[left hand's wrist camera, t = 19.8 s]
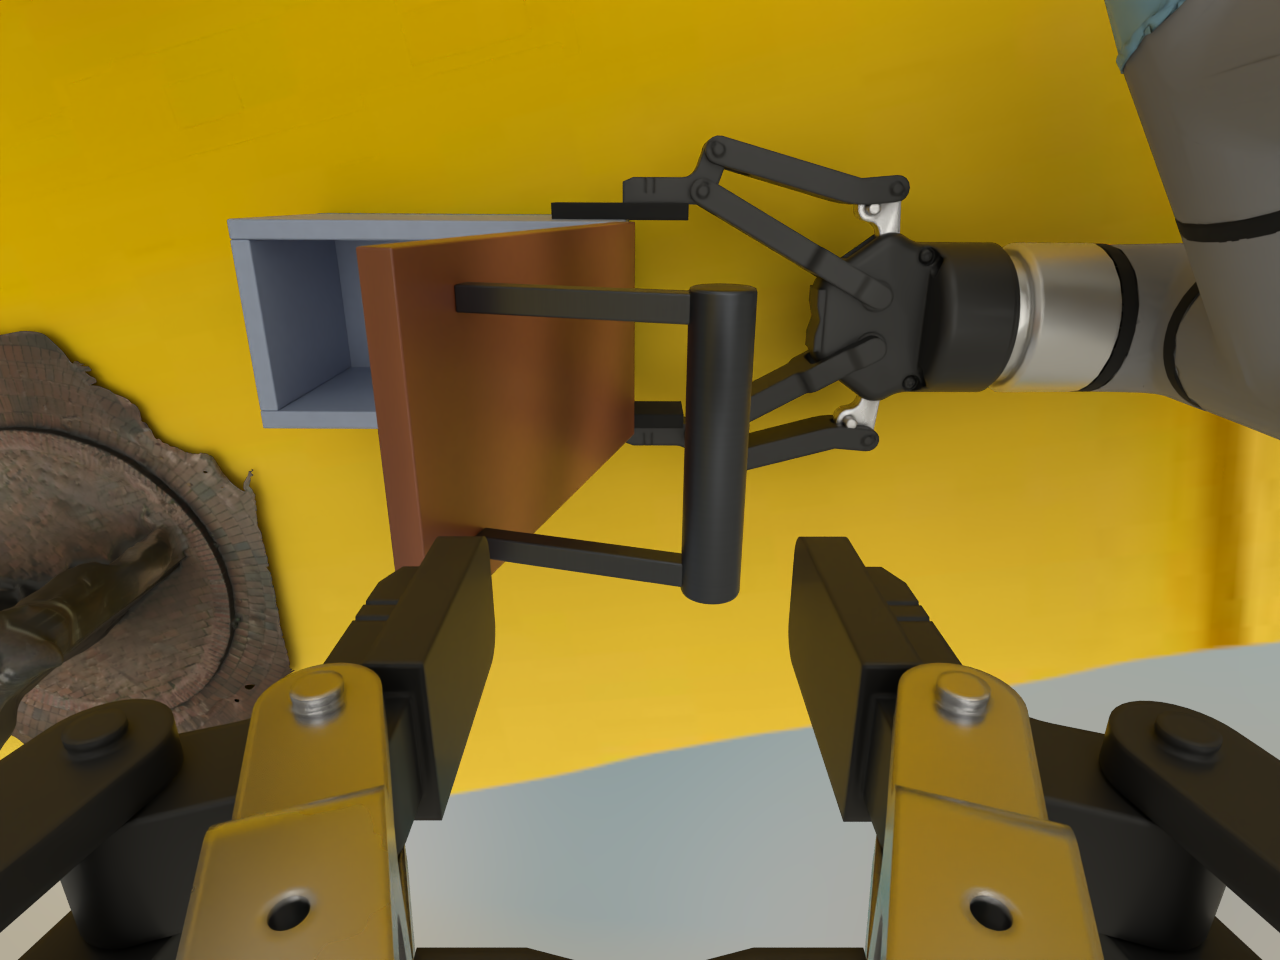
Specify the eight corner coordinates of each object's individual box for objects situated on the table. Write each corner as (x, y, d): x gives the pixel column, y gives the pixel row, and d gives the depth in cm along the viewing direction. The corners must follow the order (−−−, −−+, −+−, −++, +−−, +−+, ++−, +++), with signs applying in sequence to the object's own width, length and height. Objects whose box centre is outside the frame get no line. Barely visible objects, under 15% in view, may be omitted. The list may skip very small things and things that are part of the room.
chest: (344, 377, 47) (262, 428, 37) (322, 213, 43) (225, 218, 33) (628, 379, 47) (625, 430, 37) (628, 215, 43) (625, 221, 33)
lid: (401, 628, 20) (717, 684, 18) (354, 246, 16) (738, 257, 14) (616, 432, 36) (793, 448, 34) (615, 221, 33) (811, 224, 31)
